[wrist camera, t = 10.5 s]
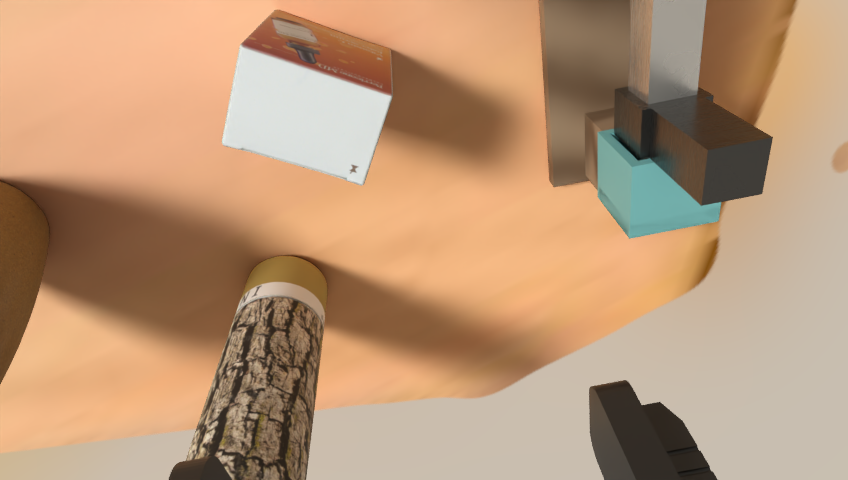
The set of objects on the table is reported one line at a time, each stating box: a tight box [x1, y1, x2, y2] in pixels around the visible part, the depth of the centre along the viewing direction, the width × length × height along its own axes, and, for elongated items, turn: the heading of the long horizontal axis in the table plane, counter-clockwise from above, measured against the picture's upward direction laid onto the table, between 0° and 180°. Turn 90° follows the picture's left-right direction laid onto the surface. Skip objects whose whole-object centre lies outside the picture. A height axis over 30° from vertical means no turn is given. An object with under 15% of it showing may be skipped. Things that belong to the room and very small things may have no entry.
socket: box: [598, 129, 721, 239], centre depth 34 cm, size 5×6×6 cm
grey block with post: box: [614, 0, 773, 206], centre depth 27 cm, size 19×4×10 cm, turn 11°
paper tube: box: [186, 256, 328, 480], centre depth 35 cm, size 7×7×25 cm
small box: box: [222, 10, 393, 186], centre depth 32 cm, size 8×6×10 cm
